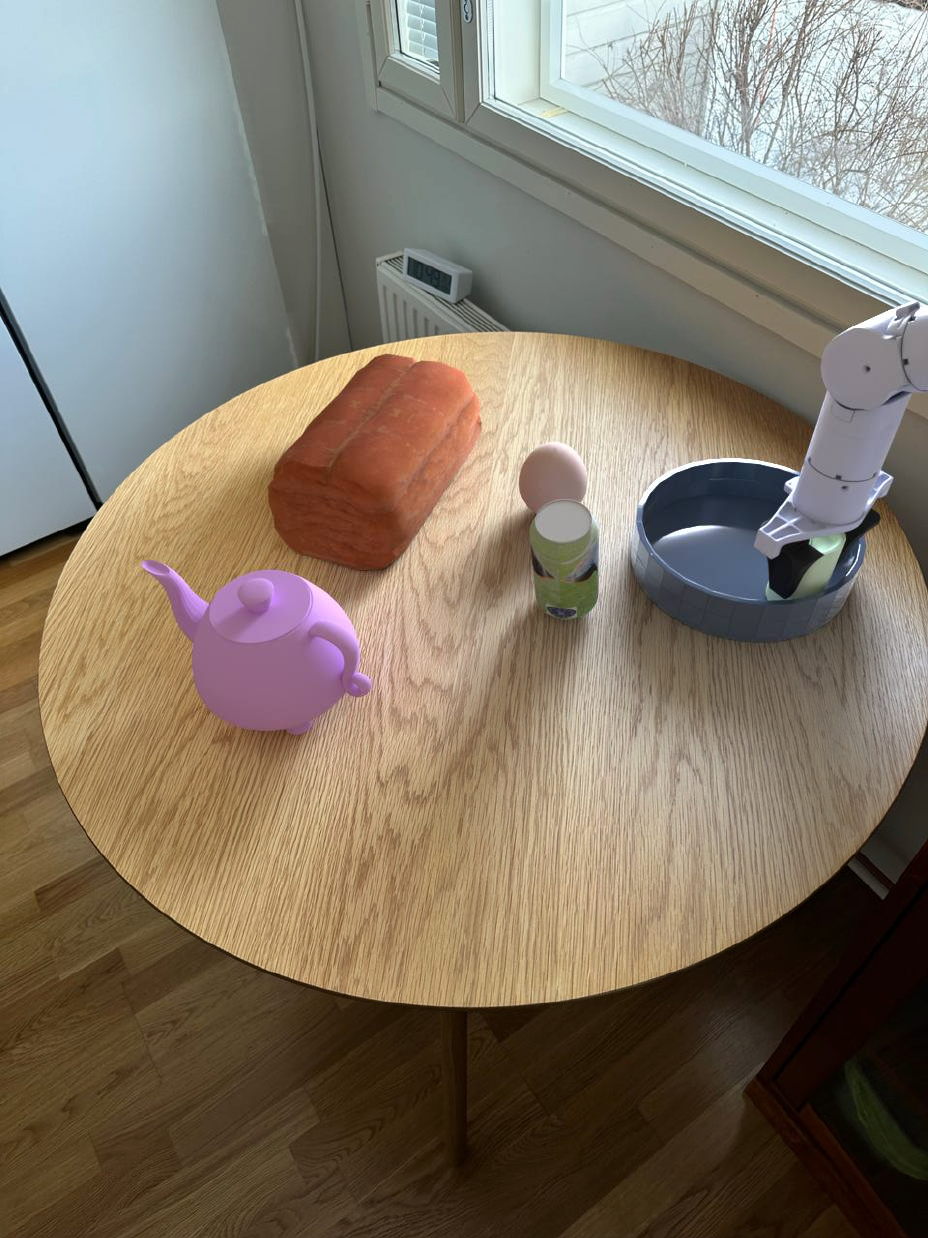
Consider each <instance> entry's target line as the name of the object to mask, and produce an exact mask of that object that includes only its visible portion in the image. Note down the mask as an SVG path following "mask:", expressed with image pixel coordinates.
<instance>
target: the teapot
mask: <svg viewBox="0 0 928 1238" xmlns="http://www.w3.org/2000/svg"><path fill="white" fill-rule="evenodd" d="M141 567H142V569H143V570H144V571H146V572H147V574H149V575H151V576H152V578H154V579H156V581H157V582H158V583H159V584H160V585H161V586H162V588H163V589H164V591H165V593H166V595H167V598H168V601H169V604H170V607H171V611H172V614H173V616H174V619H175V622H176V624H177V626H178V628H179V629H180V631H181V632H182V634H183V635H184V636H185V637H186V638H187V639H188V640H189V641H190V642H191V643H192V649H191V669H192V676H193V682H194V685H195V688H196V692H197V694H198V696H199V698H200V700H201V702H202V704H203V705H204V706H205V707H206V708H207V710H208V711H210V712H211V713H212V714H213V715H214V716H216V717H217V718H219V719H220V720H222V721H223V722H225V723H226V724H229V725H232V726H234V727H237V728H241V729H243V730H244V729H245V730H251V731H257V732H272V731H273V732H274V731H283V730H285V731H286V732H287V733H288V734H290V735H293V736H294V735H297V736H299V735H303V734H305V733H307V732H308V731H309V730H310V729H311V728H312V726H313V724H314V720H315V719H317V718H318V717H320V716H322V715H323V714H325V713H326V712H328V711H330V710H331V708H333V707H334V706H336V704H337V703H338V702H339V701H340V700H341V699H342V698H343V697H344V696H345V695H346V694H347V695H349V696H351V697H354V698H362V697H366V696H367V694H369V693H370V692H371V689H372V685H373V684H372V683H373V682H372V680H371V679H370V678H369V676H367V675H365V674H364V673H361V672H358V670H359V665H360V661H361V649H360V643H359V639H358V635H357V633H356V630H355V628H354V626H353V624H352V622H351V620H350V618H349V617H348V615H347V614H346V612H345V611H344V609H343V607H341V606H340V604H339V603H338V602H337V601H336V600H335V599H334V598H333V597H332V596H330V594H329V593H328V592H326V591H325V590H323V589H322V588H320V587H319V586H317V585H315V584H314V583H312V582H311V581H309V580H307V579H306V578H305V577H304V578H303V577H301V576H299V575H297V574H294V573H291V572H289V571H284V570H279V569H262V570H256V571H252V572H248V573H245V574H242V575H240V576H237V577H236V578H234V579H232V580H231V581H229V582H228V583H226V584H225V585H223V587H221V588H220V589H219V590H218V591H217V592H216V593H215V595H214V596H213V597H212V598H211V600H210V602H209V603H208V602H207V601H205V600H204V599H202V597H200V596H199V595H198V594H197V593H196V592H194V590H193V589H192V588H191V587H190V586H189V585H188V583H187V582H186V580H184V579H183V578H182V577H181V576H180V574H178V573H177V572H176V571H175V570H174V569H173V568H171V567H170V566H168V565H167V564H164V563H162V562H160V561H158V560H153V559H145V560H142V562H141Z"/></svg>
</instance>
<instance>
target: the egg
mask: <svg viewBox="0 0 928 1238" xmlns="http://www.w3.org/2000/svg"><path fill="white" fill-rule="evenodd" d="M587 488H588V474H587V469H586V466H585V464H584V461H583V460H582V458H581V456H580V455H579V454H578V452H576V451H575V449H574V448H572V447H571V446H569V445H567V444H565V443H563V442H559V441H549V442H545V443H543V444H540V445H538V446H537V447H535V448H534V449H533V450H532V451H531V452H530V453H529V454H528V455H527V457H526V459H525V460H524V461H523V463H522V466H521V468H520V471H519V477H518V489H519V490H518V491H519V494H520V497H521V499H522V501H523V502H524V504H525V505H526V507H527V508H528V509H529V510H531V511H532V513H534V514H536V515H537V513H538V511H539V510H540V509H541V508H542V507H543V506H544V505H546V504H548V503H550V502H552V501H555V500H561V499H569V500H574V501H578V502H580V503H582V501H583V500H584V498H585V496H586V494H587Z"/></svg>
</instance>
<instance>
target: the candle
mask: <svg viewBox="0 0 928 1238" xmlns="http://www.w3.org/2000/svg"><path fill="white" fill-rule="evenodd" d="M845 541H846V535H845V533H844V532H843V533H838V534H833V535H827V536H822V537H817V538H812V539H810V542H809V544H810V545H811V546H812V547H814V548H815V549H817V550H818V551H820V552H821V553H823V554H824V556H822V557H821V558H820V559H818V560H817V561H816V562H815V563H814V564H813V565H812V566H811V567H810V568H809V569H808V570H807V572H806V573H805V574H804V576H803V578H802V580H801V582H800V583H799V585H798V587H797V589H796V591H795V592H794V593H793V594H792V595H791V596H790V597H789V598H787V599H783V598H782V597H780V596H779V595H778V594H776V593H775V592H774V591H773V590H771V589H770V588H769V581H768V584H767V588H766V597H767V600H768V601H770V600H792V599H796V598H801V597H805V596H810V595H814V594H816V593H818V592H821V591H823V590H825V589H826V588H827V585H828V583H829V580H830V578H831V576H832V573H833V571H834V568H835V566H836V563H837V561H838V558H839V556H840V553H841V551H842V548H843V546H844V543H845Z"/></svg>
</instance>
